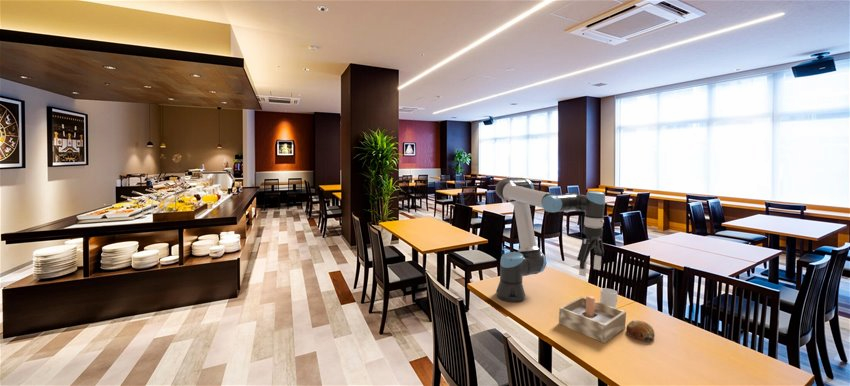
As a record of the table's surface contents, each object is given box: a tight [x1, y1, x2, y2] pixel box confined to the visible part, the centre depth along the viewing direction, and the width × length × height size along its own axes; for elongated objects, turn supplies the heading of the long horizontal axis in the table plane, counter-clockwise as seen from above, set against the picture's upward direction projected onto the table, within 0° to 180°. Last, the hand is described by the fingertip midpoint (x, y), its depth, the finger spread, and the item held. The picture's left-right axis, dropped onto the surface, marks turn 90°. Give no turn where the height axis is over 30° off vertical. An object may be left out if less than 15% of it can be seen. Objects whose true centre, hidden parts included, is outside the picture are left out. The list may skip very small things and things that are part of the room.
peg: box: [585, 295, 596, 318], centre depth 151 cm, size 4×4×12 cm
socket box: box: [558, 296, 627, 344], centre depth 149 cm, size 20×20×8 cm
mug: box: [599, 287, 618, 308], centre depth 160 cm, size 10×7×12 cm, turn 116°
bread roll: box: [626, 319, 656, 342], centre depth 141 cm, size 10×10×8 cm
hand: (589, 272), depth 151 cm, fingers open, 13 cm apart
